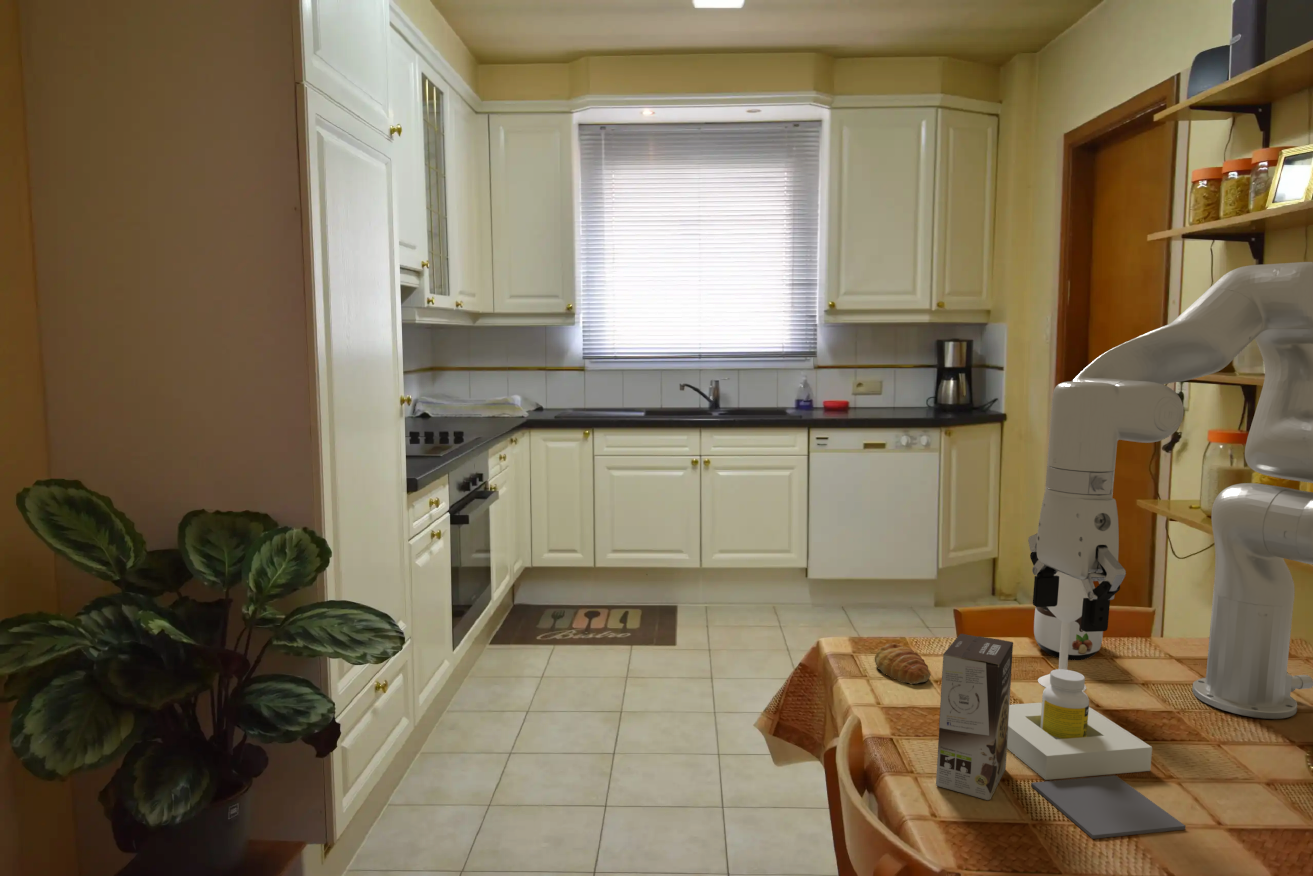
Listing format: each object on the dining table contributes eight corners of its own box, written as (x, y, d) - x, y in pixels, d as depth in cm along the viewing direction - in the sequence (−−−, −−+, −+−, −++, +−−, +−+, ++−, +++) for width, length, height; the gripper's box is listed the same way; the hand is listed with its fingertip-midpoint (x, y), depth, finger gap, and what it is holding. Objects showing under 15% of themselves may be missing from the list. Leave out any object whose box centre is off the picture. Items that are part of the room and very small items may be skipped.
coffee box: (992, 802, 100) (999, 664, 98) (934, 786, 104) (940, 653, 102) (1008, 769, 108) (1015, 640, 106) (953, 755, 111) (960, 630, 109)
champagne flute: (1027, 679, 136) (1037, 525, 133) (1060, 672, 139) (1070, 521, 136) (1063, 695, 130) (1074, 534, 127) (1096, 688, 132) (1108, 530, 130)
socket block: (1076, 720, 121) (1078, 699, 121) (1150, 770, 108) (1152, 747, 107) (982, 728, 119) (983, 706, 119) (1045, 780, 105) (1046, 756, 105)
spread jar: (1040, 659, 144) (1044, 589, 143) (1023, 635, 156) (1027, 570, 154) (1119, 664, 142) (1124, 593, 141) (1096, 640, 154) (1101, 574, 152)
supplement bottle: (1090, 760, 110) (1096, 685, 109) (1044, 756, 111) (1049, 681, 110) (1079, 741, 115) (1084, 668, 114) (1034, 737, 117) (1039, 665, 115)
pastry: (941, 684, 134) (942, 659, 134) (903, 690, 132) (904, 665, 132) (905, 662, 143) (906, 639, 143) (868, 667, 141) (869, 644, 141)
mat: (1115, 778, 106) (1115, 775, 106) (1185, 829, 95) (1185, 825, 95) (1031, 786, 104) (1031, 782, 104) (1092, 838, 93) (1093, 835, 93)
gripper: (1157, 495, 101) (1144, 640, 103) (1062, 471, 118) (1053, 597, 120) (1098, 495, 100) (1086, 642, 102) (1011, 471, 117) (1002, 598, 119)
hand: (1068, 617), depth 111 cm, fingers open, 9 cm apart
